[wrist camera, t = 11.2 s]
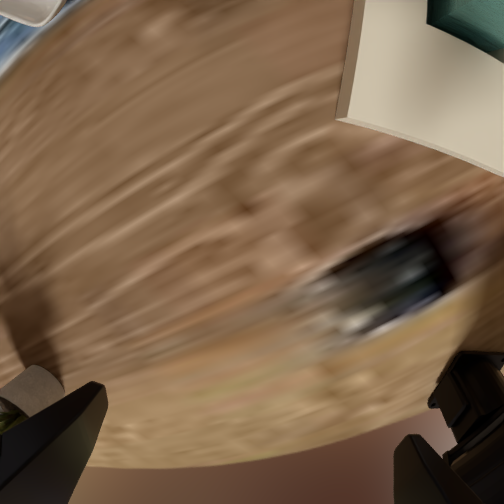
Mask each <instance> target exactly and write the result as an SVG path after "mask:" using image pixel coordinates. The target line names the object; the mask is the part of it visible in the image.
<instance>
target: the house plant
mask: <svg viewBox="0 0 504 504" xmlns="http://www.w3.org/2000/svg"><path fill="white" fill-rule="evenodd" d="M64 396H65V392H64V389H63V387H62V385H61V384H60V382H59V381H58V380H57V379H56V378H55V377H54V376H53V375H52V374H51V373H50V372H48V371H47V370H46V369H44V368H42V367H40V366H37V365H31V366H30V367H28V368H27V369H26V370H24V371H23V372H22V373H20V374H19V375H18V376H17V377H15V378H14V379H13V380H12V381H10V382H9V383H8V384H6V385H5V386H4V387H3V388H1V389H0V422H1V423H0V434H2V433H3V432H5V431H7V430H8V429H10V428H12V427H14V426H15V425H17V424H19V423H21V422H22V421H24V420H26V419H28V418H29V417H31V416H33V415H34V414H36V413H38V412H40V411H41V410H43V409H45V408H46V407H48V406H50V405H52V404H53V403H55V402H57V401H58V400H60V399H62V398H63V397H64Z"/></svg>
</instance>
